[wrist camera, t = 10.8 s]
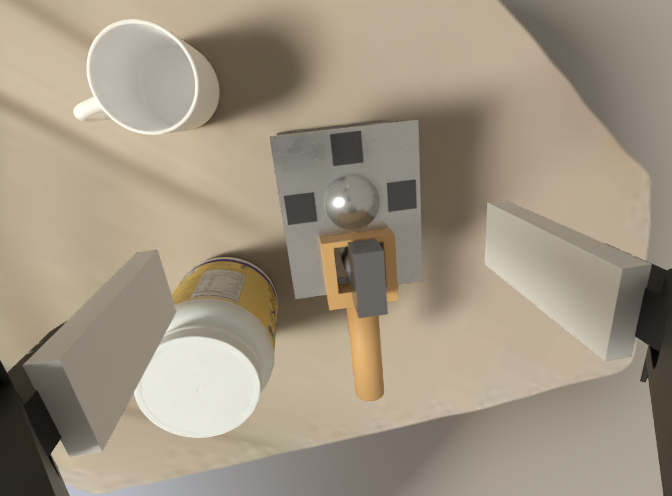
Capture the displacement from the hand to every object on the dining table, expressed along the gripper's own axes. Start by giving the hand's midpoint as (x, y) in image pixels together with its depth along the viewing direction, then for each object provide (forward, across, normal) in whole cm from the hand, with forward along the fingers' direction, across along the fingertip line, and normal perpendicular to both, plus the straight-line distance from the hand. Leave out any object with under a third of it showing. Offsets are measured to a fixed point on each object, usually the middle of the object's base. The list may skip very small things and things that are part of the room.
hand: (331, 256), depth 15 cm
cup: (+30, -13, +8) cm, 34 cm away
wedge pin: (+28, +4, -8) cm, 30 cm away
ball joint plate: (+29, +3, -4) cm, 30 cm away
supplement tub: (+29, -12, -16) cm, 35 cm away
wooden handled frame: (+21, +3, -14) cm, 25 cm away
